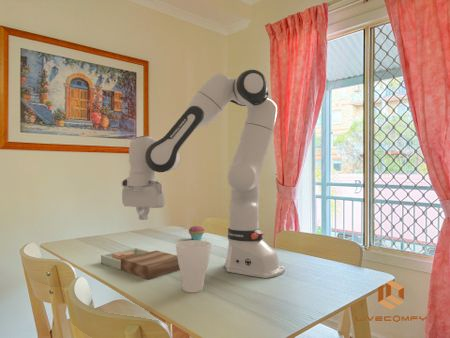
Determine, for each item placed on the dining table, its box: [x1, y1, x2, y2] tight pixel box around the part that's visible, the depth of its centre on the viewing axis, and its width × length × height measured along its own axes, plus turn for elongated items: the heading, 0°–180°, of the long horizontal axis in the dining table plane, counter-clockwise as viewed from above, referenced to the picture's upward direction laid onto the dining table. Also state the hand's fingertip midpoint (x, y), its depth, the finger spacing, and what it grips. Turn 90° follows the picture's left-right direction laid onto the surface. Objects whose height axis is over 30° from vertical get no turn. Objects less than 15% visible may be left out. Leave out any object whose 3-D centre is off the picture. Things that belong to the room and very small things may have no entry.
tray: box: [100, 247, 151, 271], centre depth 123 cm, size 13×16×3 cm
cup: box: [175, 239, 212, 294], centre depth 95 cm, size 10×10×14 cm
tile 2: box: [121, 252, 135, 258], centre depth 118 cm, size 4×4×3 cm
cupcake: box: [188, 217, 206, 241], centre depth 167 cm, size 9×8×12 cm
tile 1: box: [112, 251, 123, 261], centre depth 122 cm, size 4×4×3 cm
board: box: [120, 250, 180, 280], centre depth 114 cm, size 16×16×4 cm
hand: (143, 219), depth 114 cm, fingers closed
